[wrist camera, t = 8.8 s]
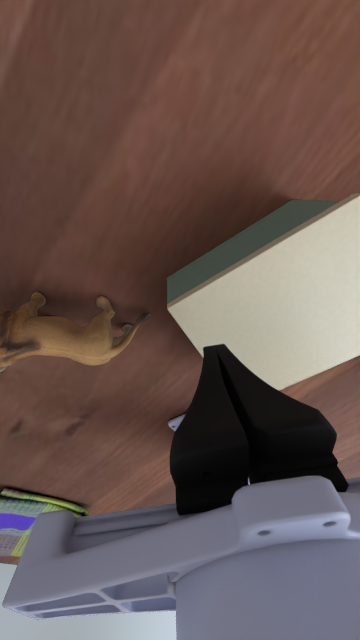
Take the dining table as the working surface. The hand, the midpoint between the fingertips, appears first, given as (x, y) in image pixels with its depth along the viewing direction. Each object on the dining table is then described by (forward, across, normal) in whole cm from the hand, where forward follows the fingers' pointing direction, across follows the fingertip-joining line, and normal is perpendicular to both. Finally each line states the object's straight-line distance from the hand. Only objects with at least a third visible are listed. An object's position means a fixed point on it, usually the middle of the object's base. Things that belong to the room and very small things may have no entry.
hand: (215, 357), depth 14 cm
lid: (+4, -6, +1) cm, 7 cm away
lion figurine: (+10, +13, 0) cm, 16 cm away
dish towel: (+10, +40, +43) cm, 59 cm away
